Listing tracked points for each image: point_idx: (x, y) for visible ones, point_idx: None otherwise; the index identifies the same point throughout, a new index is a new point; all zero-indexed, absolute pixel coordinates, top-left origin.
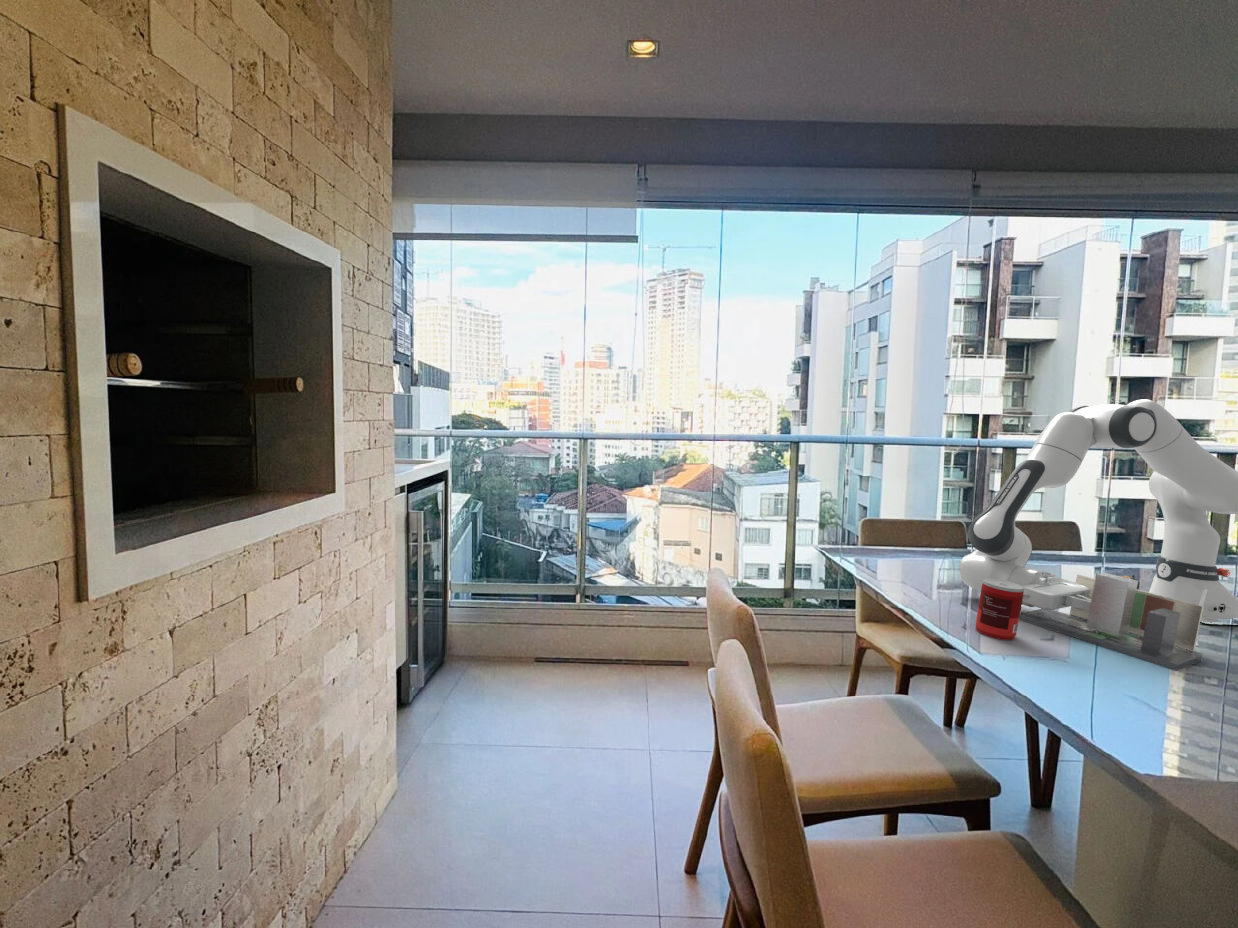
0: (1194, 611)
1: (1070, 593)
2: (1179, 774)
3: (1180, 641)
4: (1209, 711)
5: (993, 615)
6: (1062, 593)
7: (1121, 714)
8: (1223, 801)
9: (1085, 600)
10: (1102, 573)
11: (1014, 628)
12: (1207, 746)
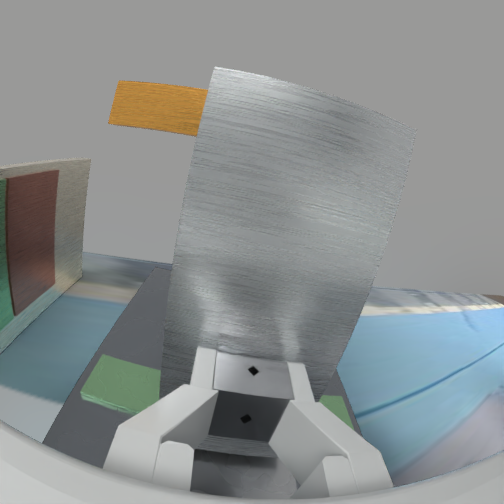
0: (82, 178)
1: (340, 497)
2: (499, 303)
3: (69, 272)
4: (409, 295)
5: None
6: (488, 462)
7: (499, 324)
8: (492, 295)
9: (304, 393)
10: (303, 87)
11: None
12: (464, 297)
